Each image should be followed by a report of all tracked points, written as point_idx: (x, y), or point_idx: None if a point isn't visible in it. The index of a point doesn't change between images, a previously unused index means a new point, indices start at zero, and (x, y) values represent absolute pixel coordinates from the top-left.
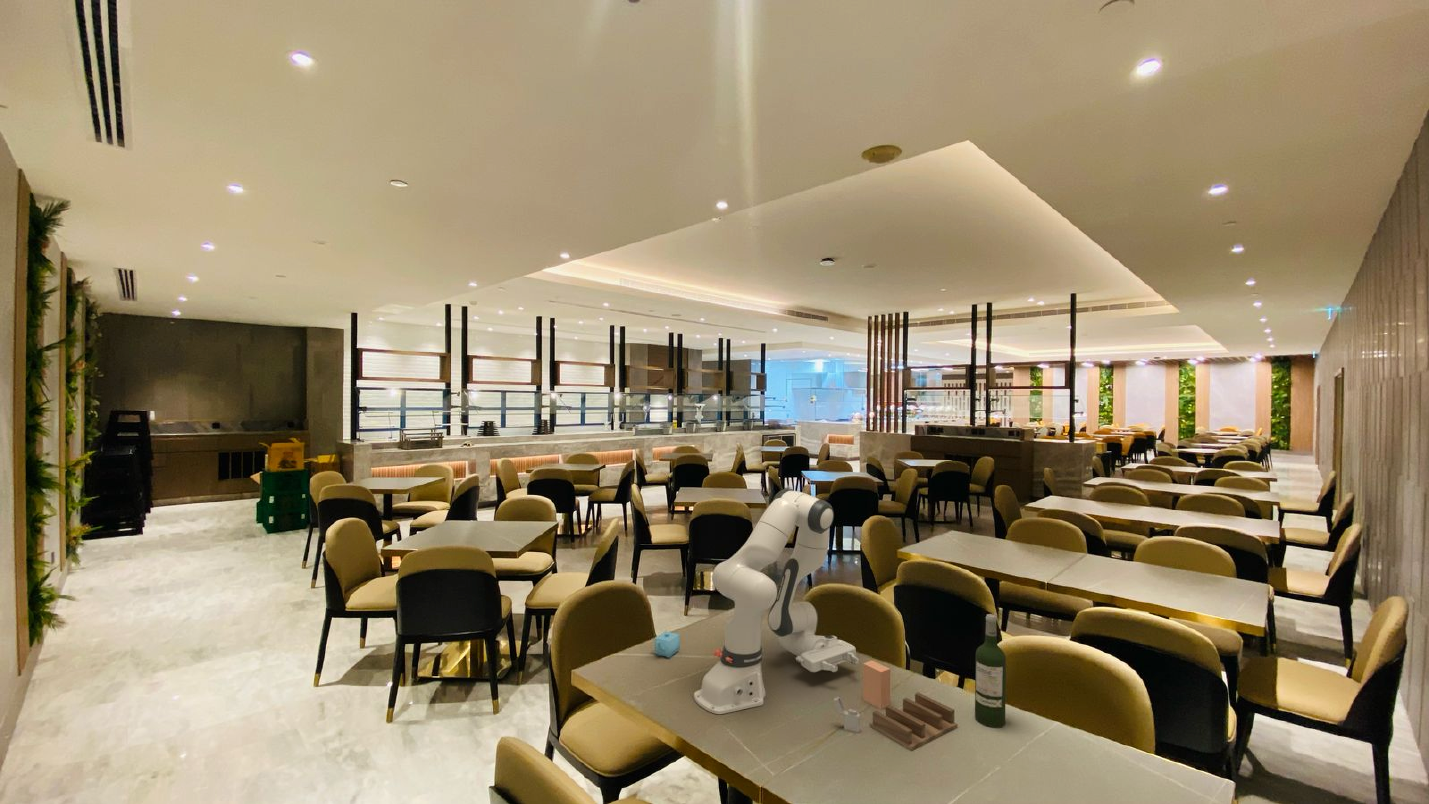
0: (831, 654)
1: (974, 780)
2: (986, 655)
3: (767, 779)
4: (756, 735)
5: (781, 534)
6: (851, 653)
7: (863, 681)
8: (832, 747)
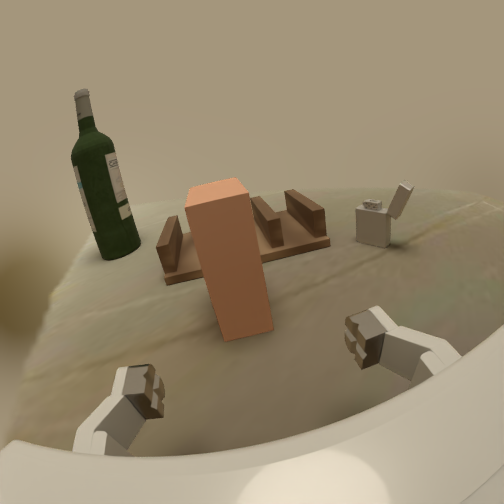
0: (330, 446)
1: (261, 196)
2: (109, 138)
3: (486, 199)
4: None
5: None
6: (83, 433)
7: (261, 267)
8: (418, 218)
